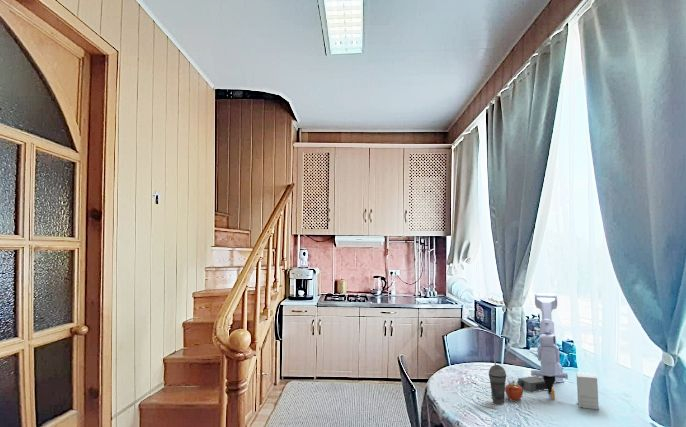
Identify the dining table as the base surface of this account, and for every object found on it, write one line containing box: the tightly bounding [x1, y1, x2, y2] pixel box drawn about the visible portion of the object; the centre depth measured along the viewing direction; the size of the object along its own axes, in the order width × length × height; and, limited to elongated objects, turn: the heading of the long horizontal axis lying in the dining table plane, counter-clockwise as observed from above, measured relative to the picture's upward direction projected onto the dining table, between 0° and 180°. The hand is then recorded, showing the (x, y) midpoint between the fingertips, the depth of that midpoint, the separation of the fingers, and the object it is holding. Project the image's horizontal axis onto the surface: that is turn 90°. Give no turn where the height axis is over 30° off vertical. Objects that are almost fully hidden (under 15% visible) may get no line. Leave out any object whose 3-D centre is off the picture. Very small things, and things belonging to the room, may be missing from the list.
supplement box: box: [576, 371, 600, 410], centre depth 187 cm, size 7×7×13 cm
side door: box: [551, 386, 556, 400], centre depth 201 cm, size 15×1×4 cm, turn 158°
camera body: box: [516, 376, 548, 393], centre depth 210 cm, size 13×8×5 cm, turn 108°
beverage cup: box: [488, 354, 507, 405], centre depth 193 cm, size 7×7×20 cm
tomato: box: [505, 380, 524, 402], centre depth 196 cm, size 7×7×8 cm
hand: (549, 393), depth 196 cm, fingers closed
